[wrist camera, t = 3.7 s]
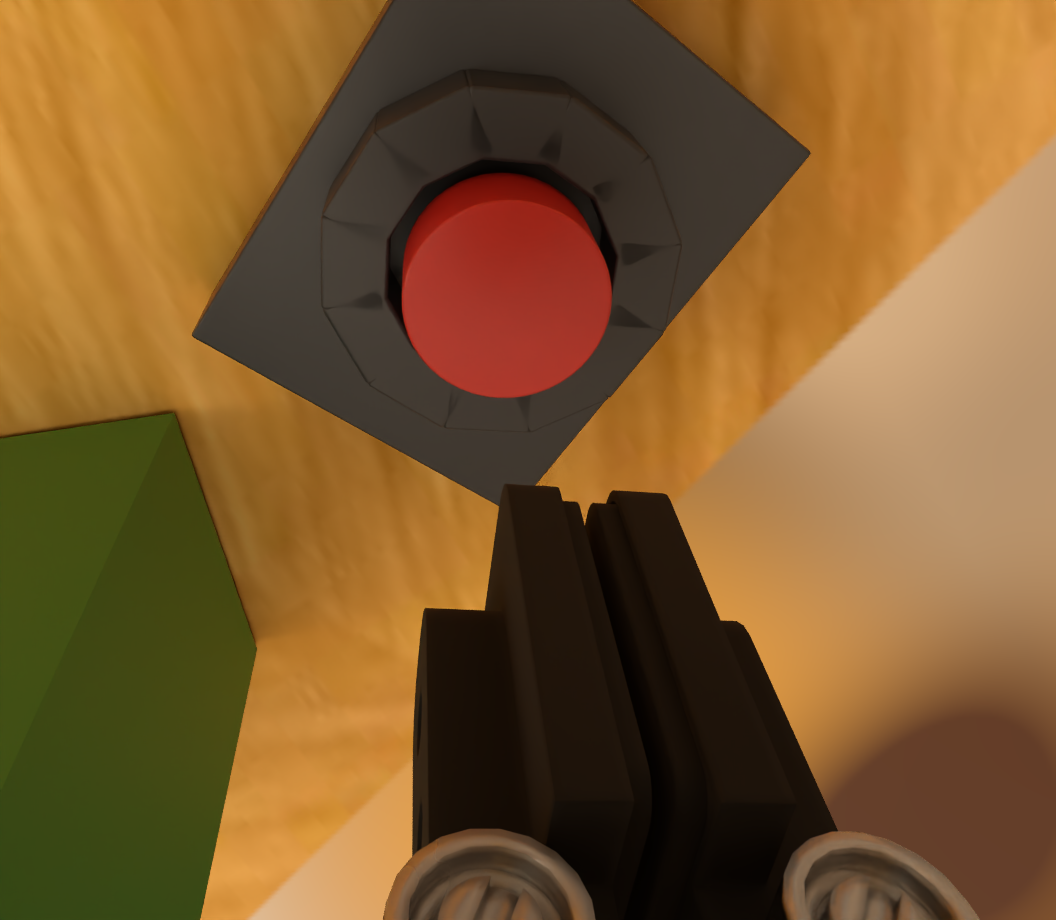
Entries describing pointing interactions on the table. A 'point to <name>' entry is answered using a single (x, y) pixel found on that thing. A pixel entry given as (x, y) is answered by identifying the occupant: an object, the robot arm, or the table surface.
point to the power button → (504, 286)
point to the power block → (482, 148)
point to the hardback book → (113, 675)
